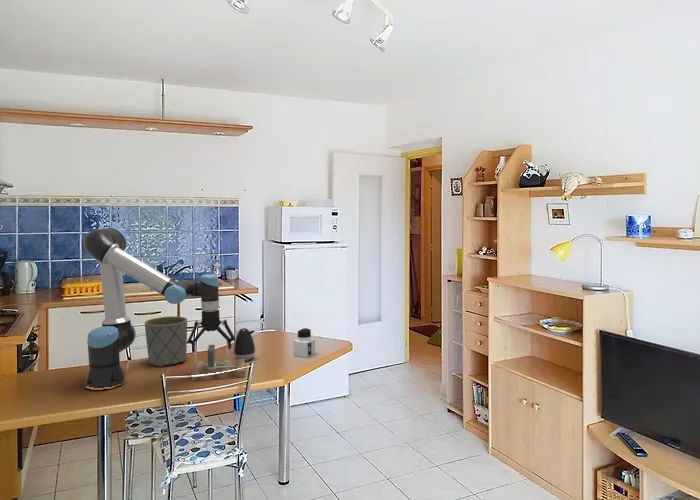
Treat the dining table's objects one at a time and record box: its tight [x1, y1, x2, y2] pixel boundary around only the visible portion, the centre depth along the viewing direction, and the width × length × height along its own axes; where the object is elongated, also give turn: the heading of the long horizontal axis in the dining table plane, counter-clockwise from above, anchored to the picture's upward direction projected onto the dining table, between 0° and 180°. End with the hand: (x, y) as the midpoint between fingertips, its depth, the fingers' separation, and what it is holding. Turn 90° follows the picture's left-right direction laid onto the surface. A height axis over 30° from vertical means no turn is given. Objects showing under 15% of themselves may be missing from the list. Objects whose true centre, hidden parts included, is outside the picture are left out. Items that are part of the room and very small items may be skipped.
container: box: [293, 327, 316, 359], centre depth 263 cm, size 8×8×13 cm
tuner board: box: [191, 358, 246, 382], centre depth 237 cm, size 22×18×3 cm
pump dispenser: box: [233, 327, 256, 362], centre depth 256 cm, size 10×10×15 cm
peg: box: [206, 344, 235, 370], centre depth 233 cm, size 12×10×10 cm
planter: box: [144, 315, 188, 368], centre depth 253 cm, size 19×19×20 cm
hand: (212, 357), depth 236 cm, fingers open, 13 cm apart
